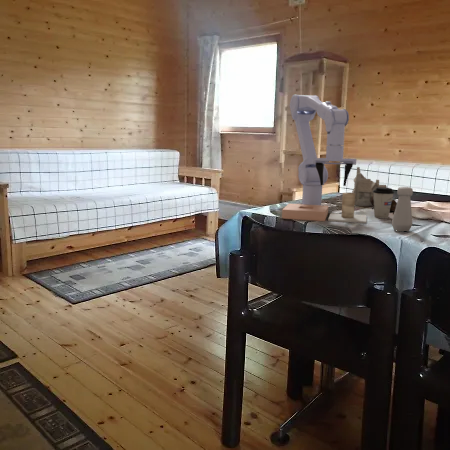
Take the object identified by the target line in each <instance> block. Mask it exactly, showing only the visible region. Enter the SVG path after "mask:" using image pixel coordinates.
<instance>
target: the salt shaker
mask: <svg viewBox="0 0 450 450" xmlns="http://www.w3.org/2000/svg"><path fill="white" fill-rule="evenodd" d="M413 194H414V190H413V188H412V187H410V186H400V187H397V192H396V195H397V196H398V199H397V201H396V203H397V205H396V209H395V212H394V211H393V212H394V213H393V216H392V221H391V225H392V228H393V231H395V230H397V231H396V232H398V231H409V232H410V231H411V228H412V226H413V215H412V213H413V212H412V201H411V200H412V199H411V196H413Z"/></svg>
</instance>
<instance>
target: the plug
mask: <svg viewBox="0 0 450 450" xmlns="http://www.w3.org/2000/svg"><path fill="white" fill-rule="evenodd" d="M341 203H342V204H341V214H342V217H343V218H354V215H355V206H356V205H355V193H352V192H342V200H341Z"/></svg>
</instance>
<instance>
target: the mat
mask: <svg viewBox="0 0 450 450" xmlns="http://www.w3.org/2000/svg"><path fill="white" fill-rule="evenodd" d="M327 219H328V220H327V221H328V222H338V223H339V222H340V223H341V222H342V223H354V224H355V223H356V224H358V223H359V224H367V215H366V214H363V215H362V214H354V218H343V217H342V213H337V212H336V213H334V212H331V213H330V214H329V217H328V218H327Z"/></svg>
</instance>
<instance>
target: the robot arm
mask: <svg viewBox="0 0 450 450" xmlns="http://www.w3.org/2000/svg"><path fill="white" fill-rule="evenodd" d="M289 110H290V114H291V115H290V116H291V118H292V120H294V122H295V123H294V124H295V127H296V132H297V137H298V140H299V141H298V142H299V146H300V152H301V155H302V159H303V160H302V162H300V164H299V165H298V168H297V169H298V170H297V171H298V175H297V176H298V181H299V183H300V184H301V185H302V197H301V198H302V199H301V204H307V205H322V199H323V197H322V196H323V186H325V184H326V182H327V181H328V178H329V172H328V169H327V167H326V165H344V177H343V183H342V185H343V187H346V186H347V181H348V177H349V174H350V172H351V171H352V168H353V166H355V165H357V159H356V158H344V150H345V149H344V148H345V146H344V145H345V130H346V129H345V128H346V126H347V125H348V123H349V120H350V115H349V112H348V110H347V109H345V108H342V109H339V107H338V106H337V105H334V104H332V101H330V100H329V101H327V100H326V101H325V102H324V101H321V100H320V97H319V96H318V95H316V94H313V95H311V94H309V95H307V94H305V95H304V94H292V96H291V98H290V103H289ZM316 114H317V117H319V118H321V119H322V120H323V121H324V125H325V132H326V151H325V152H326V153H325V157H318V156H317V151H316V149H315V144H314V143H315V142H314V139H313V134H312V129H311V125H310V121H313V120H314V118H315V116H316Z"/></svg>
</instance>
